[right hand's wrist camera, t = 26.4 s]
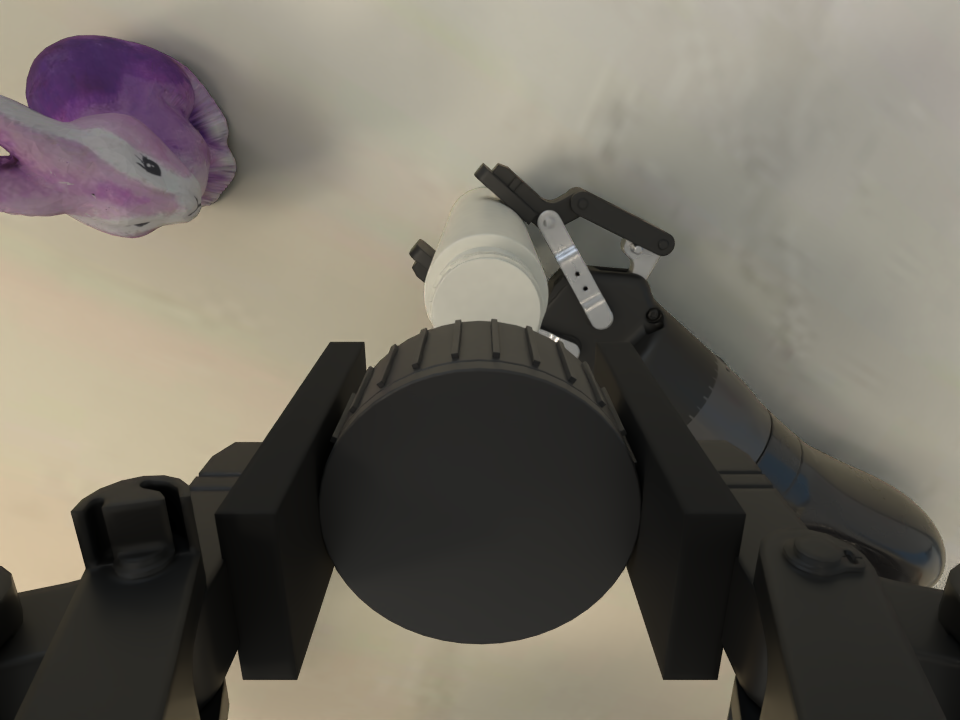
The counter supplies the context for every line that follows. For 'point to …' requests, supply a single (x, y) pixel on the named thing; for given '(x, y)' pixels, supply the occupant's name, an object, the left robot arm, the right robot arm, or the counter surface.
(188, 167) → the figurine
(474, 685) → the counter surface
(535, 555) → the lid
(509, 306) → the jar
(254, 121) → the counter surface
